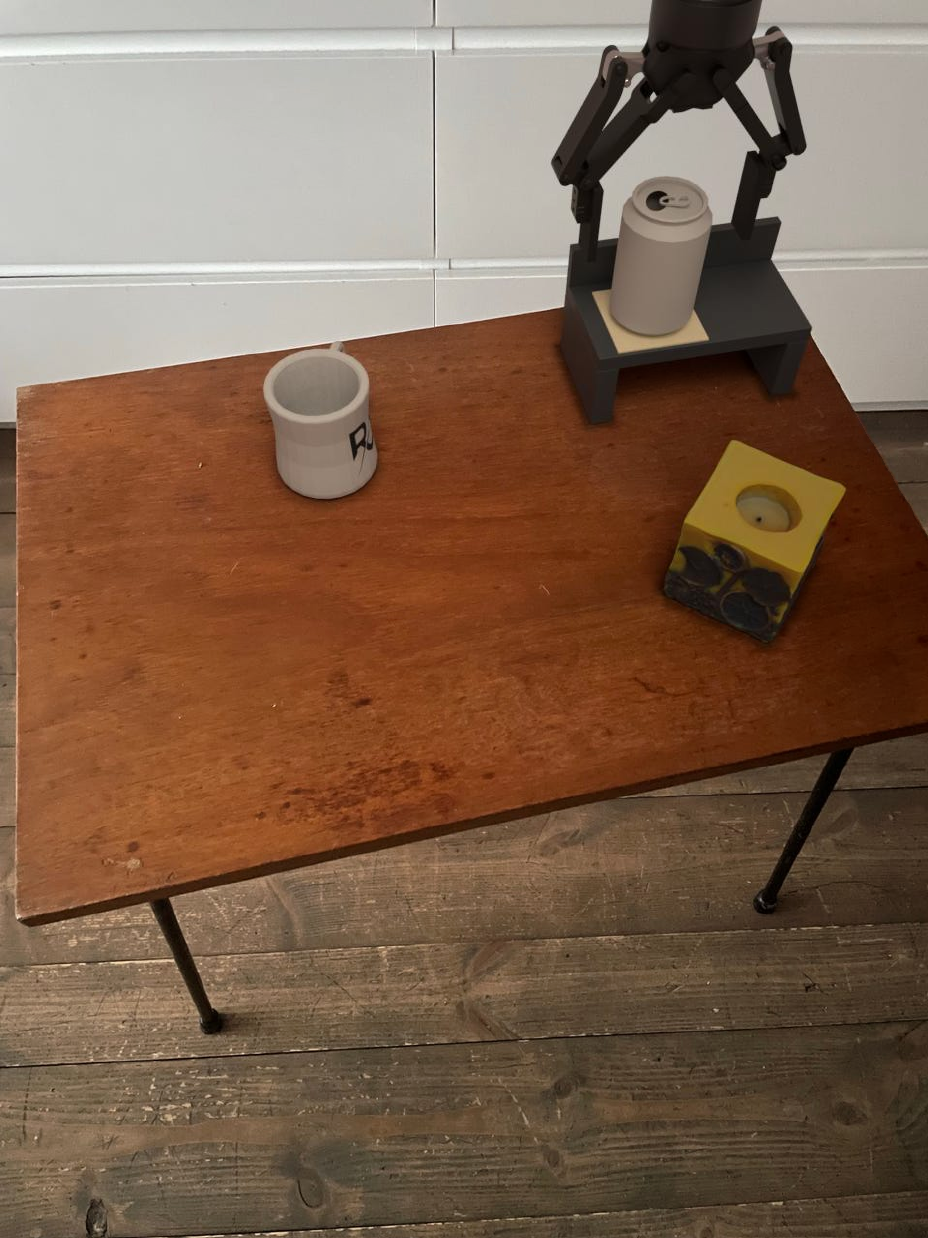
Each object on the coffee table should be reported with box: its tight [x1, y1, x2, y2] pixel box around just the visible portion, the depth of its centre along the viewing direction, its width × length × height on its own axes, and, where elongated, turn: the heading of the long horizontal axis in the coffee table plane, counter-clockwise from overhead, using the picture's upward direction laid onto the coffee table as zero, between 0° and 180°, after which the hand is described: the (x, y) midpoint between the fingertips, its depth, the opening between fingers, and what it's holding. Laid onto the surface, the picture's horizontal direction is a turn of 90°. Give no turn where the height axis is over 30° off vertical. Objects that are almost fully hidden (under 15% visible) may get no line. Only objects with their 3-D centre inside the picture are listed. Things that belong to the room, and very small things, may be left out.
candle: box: [662, 439, 847, 644], centre depth 85 cm, size 10×10×10 cm
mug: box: [262, 340, 379, 500], centre depth 93 cm, size 12×9×10 cm
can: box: [609, 175, 714, 336], centre depth 91 cm, size 8×8×12 cm
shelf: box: [559, 216, 813, 425], centre depth 99 cm, size 20×11×12 cm, turn 102°
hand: (664, 241), depth 90 cm, fingers open, 13 cm apart
